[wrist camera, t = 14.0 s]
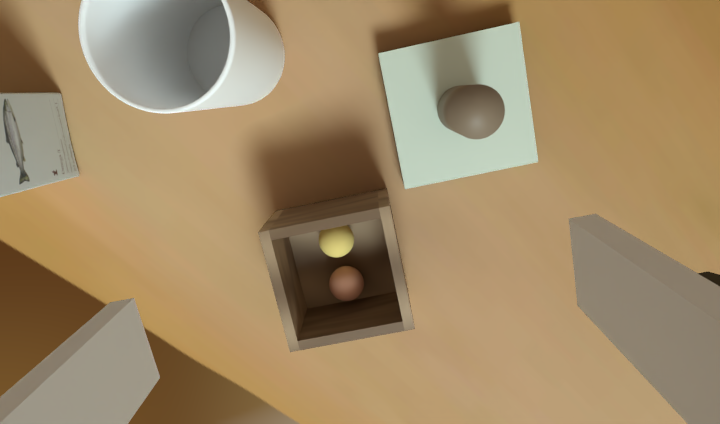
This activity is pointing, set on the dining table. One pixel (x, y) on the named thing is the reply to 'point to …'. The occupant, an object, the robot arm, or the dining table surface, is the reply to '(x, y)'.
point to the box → (314, 268)
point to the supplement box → (33, 142)
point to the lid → (460, 105)
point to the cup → (181, 52)
